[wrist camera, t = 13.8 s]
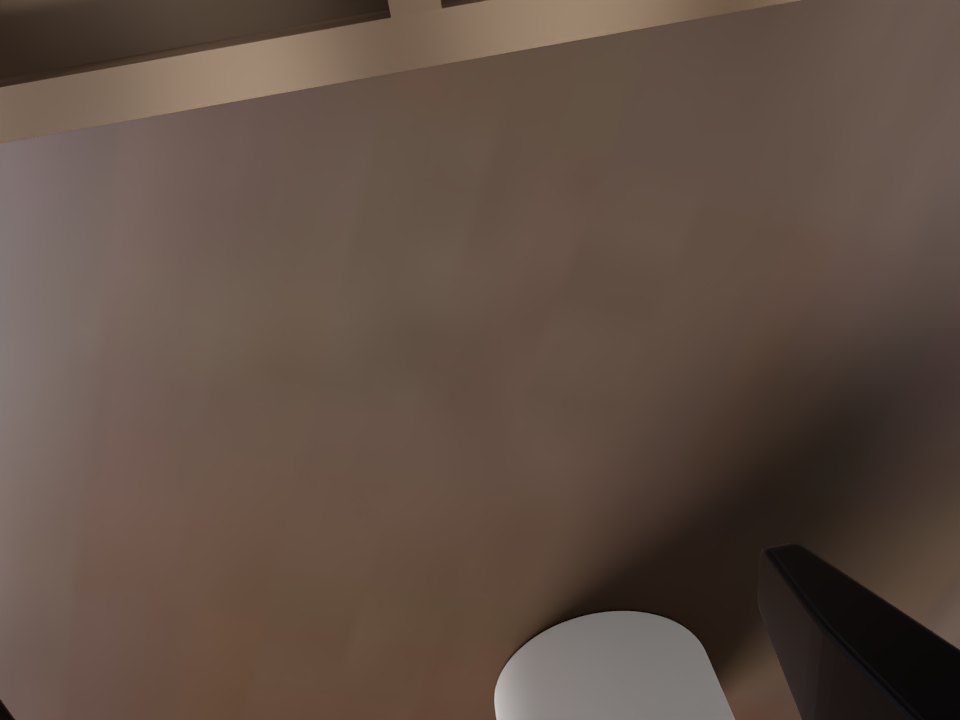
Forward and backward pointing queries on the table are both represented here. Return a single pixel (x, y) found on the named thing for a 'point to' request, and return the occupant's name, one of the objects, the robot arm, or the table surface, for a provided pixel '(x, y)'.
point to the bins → (267, 47)
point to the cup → (611, 673)
